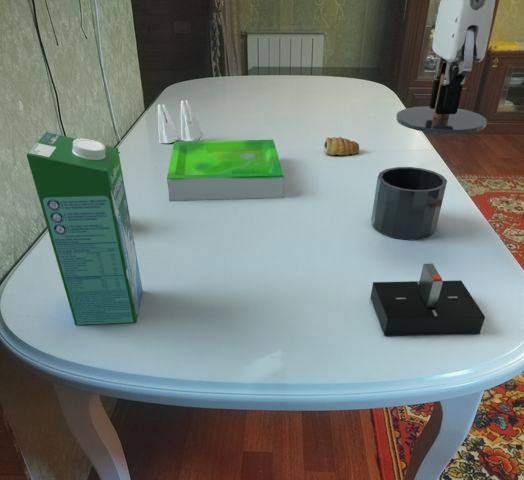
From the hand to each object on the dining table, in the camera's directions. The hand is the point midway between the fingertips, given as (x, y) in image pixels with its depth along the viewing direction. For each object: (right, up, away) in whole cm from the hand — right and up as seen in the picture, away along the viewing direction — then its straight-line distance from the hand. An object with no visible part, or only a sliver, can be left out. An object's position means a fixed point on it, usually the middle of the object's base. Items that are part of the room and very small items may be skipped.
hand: (442, 109), depth 78 cm
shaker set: (-51, +21, +64) cm, 84 cm away
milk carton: (-52, -31, 0) cm, 60 cm away
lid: (0, -1, +1) cm, 2 cm away
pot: (0, -12, +23) cm, 26 cm away
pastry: (-8, +16, +58) cm, 60 cm away
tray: (-37, +4, +43) cm, 57 cm away
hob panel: (-4, -32, -1) cm, 32 cm away
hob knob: (-4, -30, -3) cm, 30 cm away
